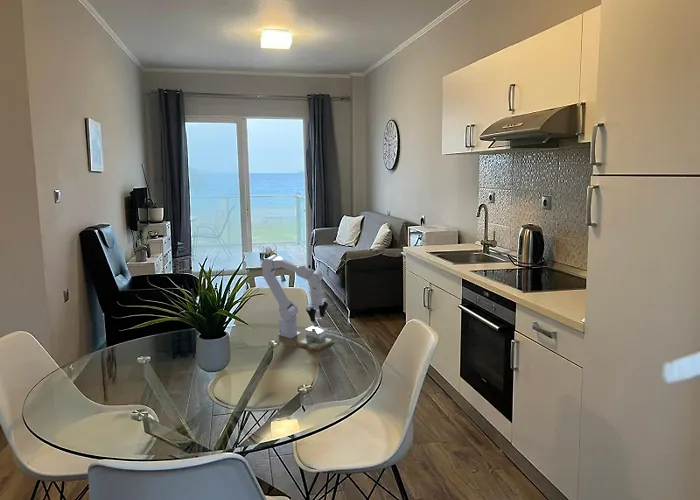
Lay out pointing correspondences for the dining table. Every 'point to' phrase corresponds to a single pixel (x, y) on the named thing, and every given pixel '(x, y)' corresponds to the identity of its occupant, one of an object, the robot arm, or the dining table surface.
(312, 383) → the dining table surface
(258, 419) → the dining table surface
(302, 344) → the stand
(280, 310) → the robot arm
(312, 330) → the housing
